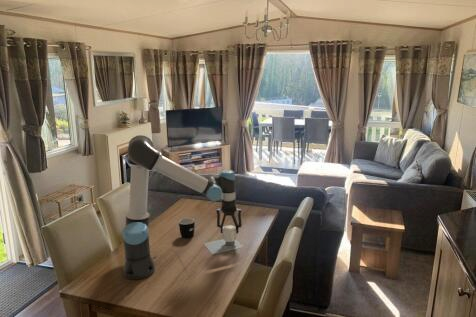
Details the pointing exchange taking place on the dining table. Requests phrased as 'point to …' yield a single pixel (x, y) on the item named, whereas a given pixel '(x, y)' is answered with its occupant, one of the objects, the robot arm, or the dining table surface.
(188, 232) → the mug
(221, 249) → the post board
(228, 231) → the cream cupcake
